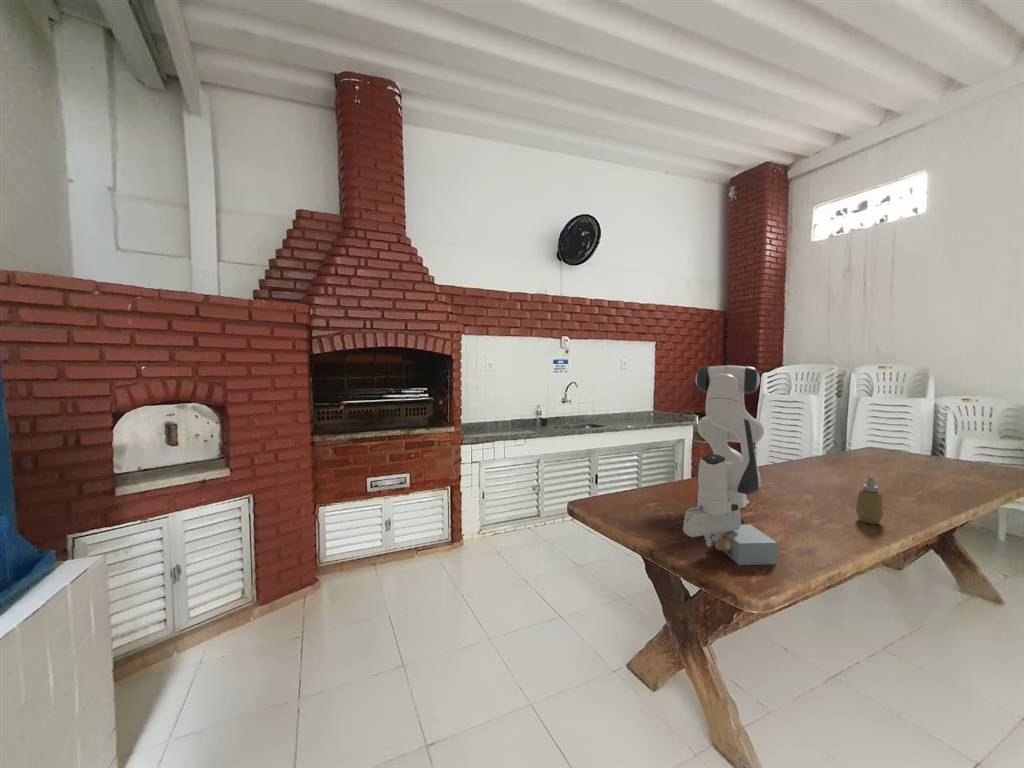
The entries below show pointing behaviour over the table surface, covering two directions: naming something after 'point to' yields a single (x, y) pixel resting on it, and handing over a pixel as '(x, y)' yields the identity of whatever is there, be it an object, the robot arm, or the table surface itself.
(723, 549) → the dowel peg
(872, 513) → the squeeze bottle
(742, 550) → the socket block
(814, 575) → the table surface
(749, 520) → the table surface
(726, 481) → the robot arm
